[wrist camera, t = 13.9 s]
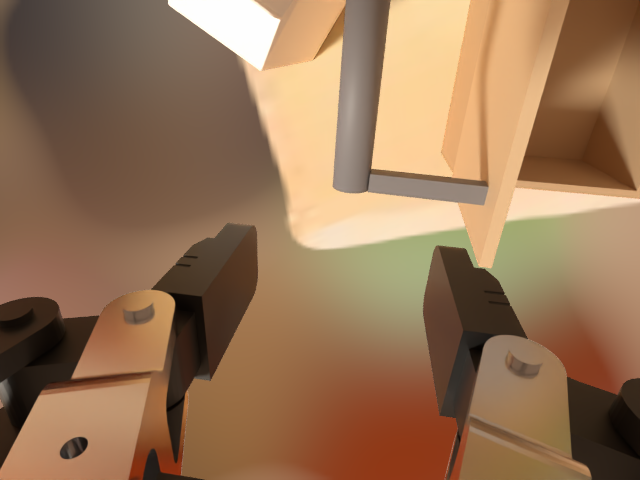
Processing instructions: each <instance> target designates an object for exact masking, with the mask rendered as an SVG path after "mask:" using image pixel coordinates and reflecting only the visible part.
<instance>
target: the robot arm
mask: <svg viewBox="0 0 640 480" xmlns="http://www.w3.org/2000/svg"><path fill="white" fill-rule="evenodd" d="M257 264H258V262H257V232H256V228H255V226H252V225H243V224H233V223H227V224H226V225H225V227H224V228H223V229H222V230H221V231H220V233H219V234H218V235H217V236H216V237H215V238H206V239H204V240H203V241H201V242H198V243H196V244H194V245H193V246H192V247H191V248H190V249H189V250H188V251H187V252H186V253H185V254H184V256H183V257H181V258H180V259H179V260H178V262H177V263H176V265H175V266H173V267H172V268H171V269H170V270H169V271H168V272H167V273H166V274H165V275H164V276H163V277H162V278H161V280H160V281H159V282H158V283H157V284H156V285H155V286H154V287H153V288H152V289H151V290H141V291H135V292H131V293H127V294H125V295H122V296H120V297H118V298H116V299H114V300H113V301H111V302H110V303H109V304H107V305H106V306H105V307H104V309H103V310H102V312H101V314H100V316H89V317H78V318H64V319H63V318H62V315H61V312H60V309H59V306H58V304H57V303H56V302H55V301H54V300H52V299H49V298H43V297H31V298H23V299H18V300H14V301H10V302H7V303H4V304H2V305H0V400H1V402H2V404H3V406H4V407H2V408H1V409H0V480H203V479H197V478H192V477H185V476H181V471H182V460H183V451H184V440H185V431H186V420H187V411H188V391H187V390H188V388H189V386H190V384H191V383H192V381H193V379H194V378H196V379H203V380H209V381H211V379H212V377H213V375H214V373H215V371H216V369H217V367H218V365H219V363H220V361H221V359H222V357H223V355H224V353H225V351H226V349H227V347H228V345H229V343H230V341H231V339H232V337H233V335H234V333H235V331H236V329H237V327H238V325H239V324H240V322H241V320H242V317H243V316H244V314H245V312H246V310H247V308H248V306H249V303H250V302H251V300H252V298H253V296H254V293H255V290H256V286H257V279H258V265H257ZM423 304H424V305H423V316H424V323H425V329H426V335H427V341H428V347H429V354H430V359H431V366H432V372H433V378H434V384H435V390H436V396H437V403H438V408H439V415H440V416H446V417H453V418H456V421H457V426H458V430H457V433H456V436H455V440H454V443H453V447H452V451H451V455H450V460H449V464H448V468H447V472H446V476H445V480H640V378H637V379H631V380H628V381H626V382H625V383H624V384H623V386H622V387H621V389H620V391H619V393H618V395H616V394H613V393H610V392H607V391H604V390H601V389H599V388H595V387H593V386H590V385H587V384H584V383H581V382H578V381H576V380H573V379H571V378H569V377H567V375H566V370H565V368H564V366H563V364H562V363H561V361H560V360H559V359H558V358H557V357H556V356H555V355H554V354H553V353H551V352H550V351H549V350H548V349H546V348H545V347H543V346H541V345H540V344H538V343H536V342H533V341H531V340H528V338H527V336H526V334H525V332H524V330H523V328H522V327H521V325H520V322H519V320H518V319H517V316H516V314H515V313H514V311H513V309H512V307H511V306H510V303H509V301H508V299H507V297H506V295H504V291H503V289H502V287H501V285H500V283H499V281H498V280H497V279H496V278H495V277H494V276H492V275H491V274H490V273H489V272H488V271H486V270H485V269H482V268H474V267H473V264H472V262H471V260H470V257H469V255H468V253H467V250H466V249H464V248H456V247H446V246H436V247H435V249H434V252H433V257H432V262H431V266H430V271H429V276H428V281H427V286H426V290H425V295H424V303H423Z"/></svg>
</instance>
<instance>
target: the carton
mask: <svg viewBox="0 0 640 480" xmlns="http://www.w3.org/2000/svg"><path fill="white" fill-rule="evenodd" d="M489 1H490V0H471V2H470V7H469V12H468V17H467V22H466V27H465V33H464V38H463V43H462V48H461V53H460V58H459V63H458V69H457V74H456V79H455V84H454V89H453V94H452V100H451V105H450V110H449V115H448V120H447V125H446V130H445V136H444V141H443V146H442V151H441V153H442V155H443V157H444V158H445V160H446V162H447V164H448V165H449V167H450V169H451V170H452V172H453V170H454V166H455V161H456V156H457V152H458V147H459V142H460V137H461V133H462V128H463V123H464V119H465V114H466V109H467V105H468V100H469V95H470V90H471V86H472V81H473V76H474V72H475V67H476V62H477V58H478V53H479V48H480V43H481V39H482V34H483V29H484V25H485V20H486V15H487V11H488V6H489ZM515 188H526V189H537V190H548V191H560V192H571V193H582V194H593V195H604V196H615V197H626V198H637V199H640V0H570V1H569V4H568V7H567V11H566V14H565V18H564V21H563V25H562V28H561V31H560V35H559V38H558V42H557V45H556V49H555V52H554V55H553V59H552V62H551V66H550V69H549V73H548V76H547V79H546V83H545V86H544V90H543V93H542V97H541V100H540V103H539V107H538V110H537V114H536V117H535V121H534V124H533V127H532V131H531V134H530V138H529V141H528V145H527V148H526V151H525V155H524V158H523V162H522V165H521V168H520V172H519V175H518V179H517V182H516V186H515Z"/></svg>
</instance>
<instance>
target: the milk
mask: <svg viewBox="0 0 640 480" xmlns="http://www.w3.org/2000/svg"><path fill="white" fill-rule="evenodd" d="M168 4H169V5H170V6H171V7H172V8H174V9H175V10H176V11H178V12H179V13H181V14H182V15H183V16H185V17H186V18H188V19H189V20H191V21H192V22H193V23H195V24H196V25H197V26H199V27H200V28H202V29H203V30H204V31H206V32H207V33H209V34H210V35H211V36H213V37H214V38H216V39H217V40H218V41H220V42H221V43H223V44H224V45H225V46H227V47H228V48H229V49H231V50H232V51H234V52H235V53H236V54H238V55H239V56H241V57H242V58H243V59H245V60H246V61H248V62H249V63H250V64H252V65H253V66H254V67H256V68H257V69H259V70H260V71H263V70H268V69H273V68H278V67H283V66H288V65H293V64H298V63H303V62H308V61H312V60H313V59H314V57H315V56H316V54H317V52H318V51H319V49H320V47H321V46H322V44H323V42H324V40H325V39H326V37H327V35H328V34H329V32H330V30H331V29H332V27H333V25H334V23H335V22H336V20H337V18H338V17H339V15H340V13H341V12H342V10H343V8H344V7H345V4H346V0H168Z"/></svg>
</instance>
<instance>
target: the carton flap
mask: <svg viewBox="0 0 640 480" xmlns="http://www.w3.org/2000/svg"><path fill="white" fill-rule="evenodd" d="M569 1H570V0H490V1H489V6H488V11H487V15H486V20H485V25H484V29H483V34H482V39H481V43H480V48H479V53H478V58H477V62H476V67H475V72H474V76H473V81H472V86H471V90H470V95H469V100H468V105H467V109H466V114H465V119H464V123H463V128H462V133H461V137H460V142H459V147H458V152H457V156H456V161H455V166H454V170H453V175H452V178H451V177H442V176H433V175H423V174H414V173H405V172H395V171H386V170H376V169H371V165H372V156H373V148H374V139H375V130H376V121H377V113H378V104H379V95H380V86H381V78H382V69H383V60H384V51H385V43H386V34H387V25H388V16H389V8H390V0H346V4H345V19H344V33H343V47H342V62H341V76H340V90H339V104H338V119H337V133H336V147H335V161H334V176H333V188H334V189H336V190H338V191H341V192H345V193H363V192H366V191H368V192H372V193H380V194H389V195H398V196H406V197H415V198H423V199H432V200H441V201H449V202H458V205H459V208H460V211H461V214H462V217H463V220H464V223H465V226H466V229H467V231H468V235H469V238H470V241H471V244H472V247H473V250H474V253H475V256H476V259H477V262H478V265H479V266H480V267H487V268H492V264H493V261H494V257H495V254H496V251H497V247H498V244H499V240H500V237H501V233H502V230H503V227H504V223H505V220H506V216H507V213H508V210H509V206H510V203H511V199H512V196H513V192H514V189H515V186H516V182H517V179H518V175H519V172H520V168H521V165H522V162H523V158H524V155H525V151H526V148H527V145H528V141H529V138H530V134H531V131H532V127H533V124H534V121H535V117H536V114H537V110H538V107H539V103H540V100H541V97H542V93H543V90H544V86H545V83H546V79H547V76H548V73H549V69H550V66H551V62H552V59H553V55H554V52H555V49H556V45H557V42H558V38H559V35H560V31H561V28H562V25H563V21H564V18H565V14H566V11H567V7H568V4H569Z"/></svg>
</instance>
